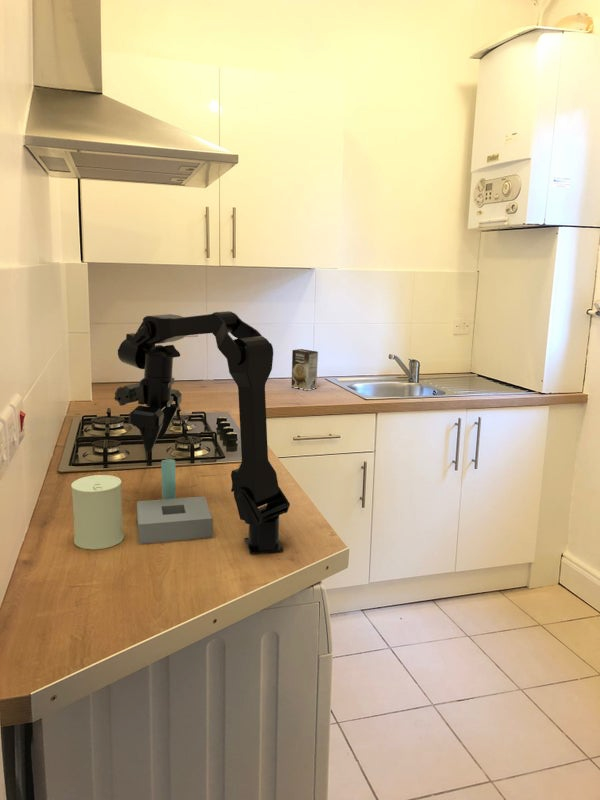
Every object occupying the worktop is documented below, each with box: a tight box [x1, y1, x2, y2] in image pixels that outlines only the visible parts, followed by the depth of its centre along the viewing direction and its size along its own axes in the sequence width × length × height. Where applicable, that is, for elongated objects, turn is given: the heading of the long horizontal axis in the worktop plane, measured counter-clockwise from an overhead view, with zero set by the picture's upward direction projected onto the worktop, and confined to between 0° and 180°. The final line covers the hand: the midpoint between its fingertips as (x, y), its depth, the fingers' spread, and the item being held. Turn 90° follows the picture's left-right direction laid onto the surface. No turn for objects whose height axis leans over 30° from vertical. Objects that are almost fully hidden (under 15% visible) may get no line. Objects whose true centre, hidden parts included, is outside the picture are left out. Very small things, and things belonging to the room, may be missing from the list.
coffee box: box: [291, 348, 319, 390], centre depth 268 cm, size 9×6×16 cm
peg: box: [160, 458, 177, 500], centre depth 141 cm, size 3×3×10 cm
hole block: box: [136, 495, 213, 545], centre depth 130 cm, size 12×14×4 cm
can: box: [70, 474, 125, 551], centre depth 123 cm, size 9×9×12 cm
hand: (155, 443), depth 139 cm, fingers open, 9 cm apart
